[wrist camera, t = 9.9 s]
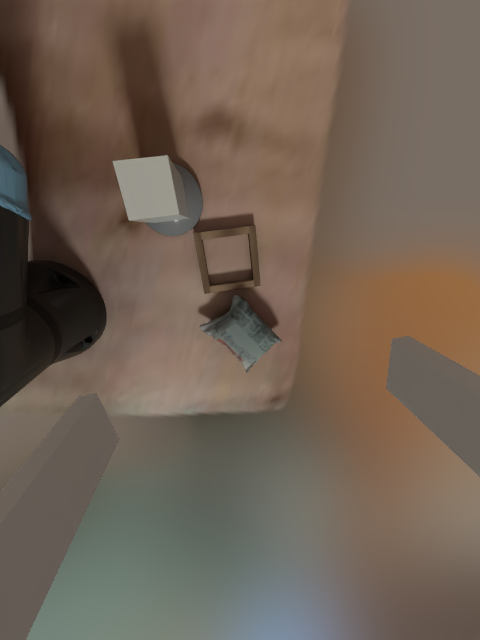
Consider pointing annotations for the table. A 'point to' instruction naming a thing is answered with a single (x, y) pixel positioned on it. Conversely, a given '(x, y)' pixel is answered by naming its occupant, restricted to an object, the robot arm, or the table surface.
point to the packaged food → (242, 333)
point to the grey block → (151, 189)
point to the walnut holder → (253, 254)
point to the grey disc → (193, 206)
